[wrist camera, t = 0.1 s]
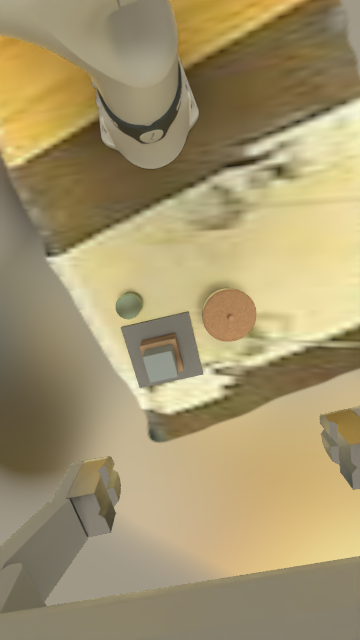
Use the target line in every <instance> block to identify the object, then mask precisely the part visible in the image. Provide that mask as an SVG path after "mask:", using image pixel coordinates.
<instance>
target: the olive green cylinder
mask: <svg viewBox="0 0 360 640" xmlns="http://www.w3.org/2000/svg"><path fill="white" fill-rule="evenodd" d="M142 306H143V300H142V298H141V296H140V295H139V294H137V293H135V292H128V293H126V294H124V295H123V296H122V297H121V298H119V299H118V301H117V303H116V311H117V313H118V314H119V316H121V317H122V318H124V319H132V318H134V317H136V316H137V315H138V313H139V312H140V310H141V309H142Z"/></svg>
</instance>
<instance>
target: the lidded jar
mask: <svg viewBox="0 0 360 640" xmlns="http://www.w3.org/2000/svg"><path fill="white" fill-rule="evenodd" d="M202 316H203V323H204V326H205V328H206V330H207V331H208V333H209V334H210V335H211V336H213V337H214V338H216V339H218V340H221V341H235V340H238V339H241V338H243V337H244V336H245V335H247V334H248V333H249V332H250V331H251V329H252V328H253V326H254V324H255V321H256V308H255V305H254V303H253V301H252V300H251V298H250V297H249V296H248V295H246V294H245V293H243V292H241V291H238V290H235V289H230V288H224V289H220V290H217V291H215V292H214V293H212V294H211V295H210V296H209V297H208V298H207V300H206V301H205V303H204V306H203V311H202Z"/></svg>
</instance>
